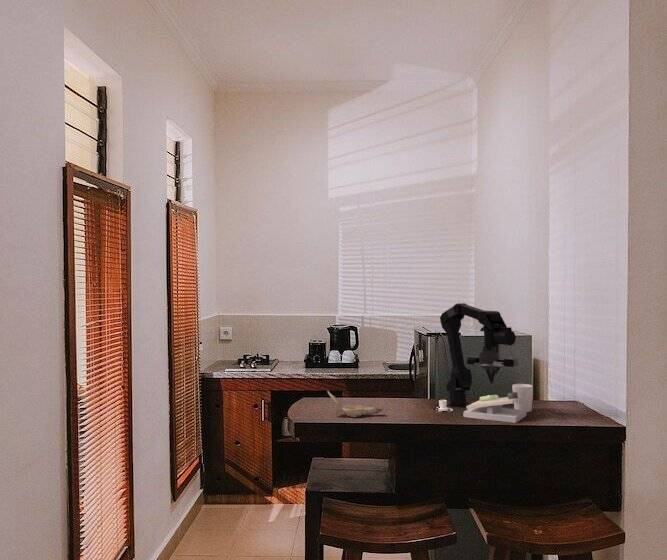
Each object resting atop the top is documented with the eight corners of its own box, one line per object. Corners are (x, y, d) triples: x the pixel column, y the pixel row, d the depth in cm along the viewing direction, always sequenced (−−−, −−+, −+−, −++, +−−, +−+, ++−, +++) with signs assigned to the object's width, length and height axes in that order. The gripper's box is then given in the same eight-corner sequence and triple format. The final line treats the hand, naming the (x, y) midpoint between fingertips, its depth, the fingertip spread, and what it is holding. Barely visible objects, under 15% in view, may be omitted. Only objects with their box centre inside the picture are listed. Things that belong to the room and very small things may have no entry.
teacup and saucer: (446, 413, 244) (446, 403, 244) (428, 411, 249) (428, 401, 249) (456, 410, 251) (456, 400, 251) (439, 407, 256) (438, 398, 256)
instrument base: (463, 416, 236) (463, 405, 236) (476, 410, 248) (476, 399, 248) (515, 422, 225) (515, 410, 225) (526, 415, 237) (526, 403, 237)
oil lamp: (327, 414, 245) (327, 389, 245) (381, 413, 245) (381, 388, 245) (328, 419, 236) (327, 392, 236) (383, 418, 237) (383, 392, 237)
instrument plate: (466, 408, 236) (465, 400, 237) (478, 403, 247) (477, 395, 247) (513, 403, 226) (511, 395, 227) (523, 397, 237) (521, 389, 238)
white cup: (510, 411, 245) (510, 386, 245) (514, 407, 252) (514, 383, 252) (531, 413, 242) (530, 387, 242) (534, 409, 248) (534, 384, 249)
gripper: (461, 344, 239) (461, 384, 239) (508, 346, 229) (509, 388, 229) (471, 341, 248) (471, 380, 248) (517, 343, 238) (518, 384, 238)
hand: (492, 383), depth 240 cm, fingers closed
